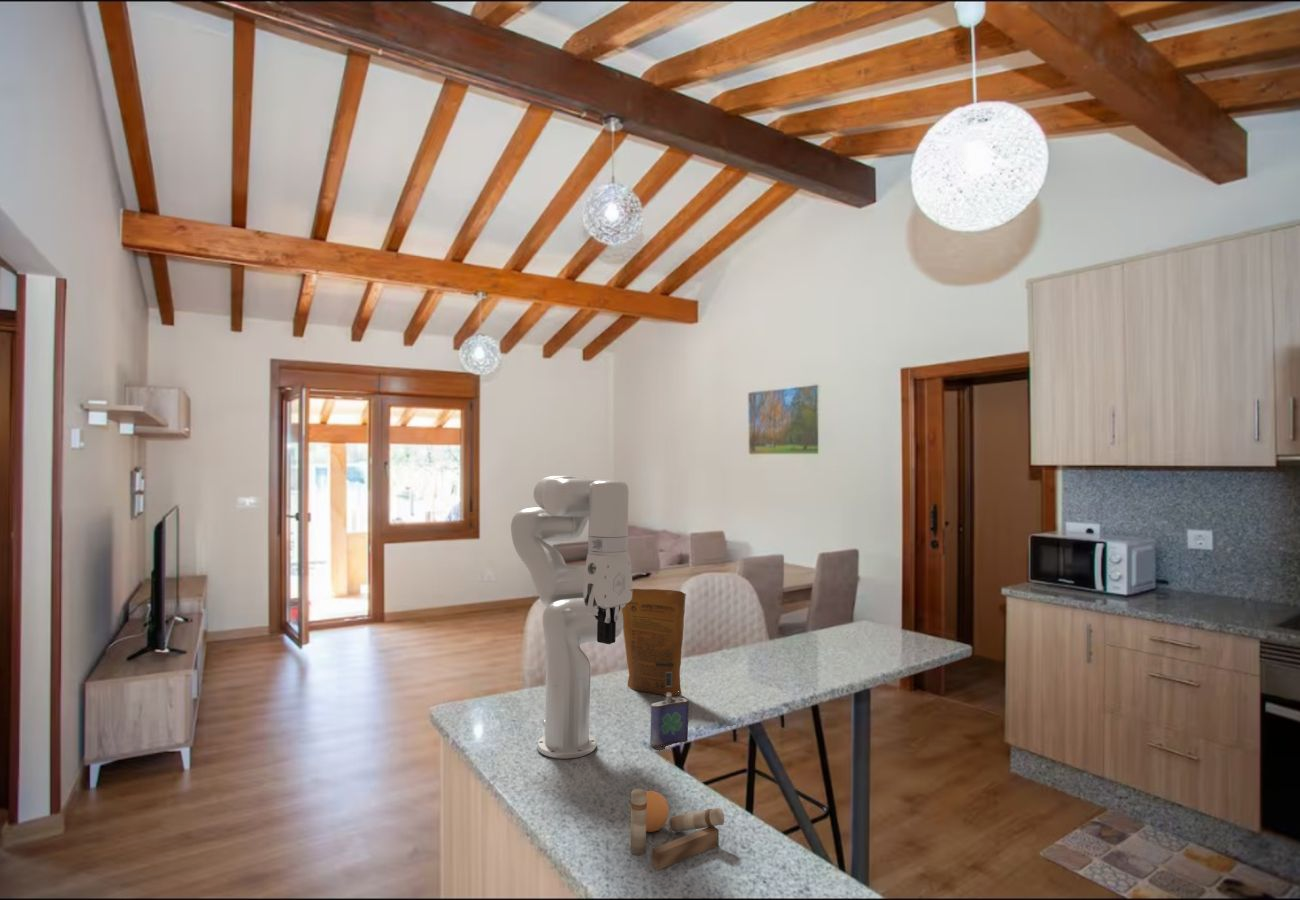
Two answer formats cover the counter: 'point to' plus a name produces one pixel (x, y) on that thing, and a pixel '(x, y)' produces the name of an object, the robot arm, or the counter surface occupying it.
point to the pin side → (638, 821)
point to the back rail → (684, 847)
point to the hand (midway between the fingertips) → (606, 642)
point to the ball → (656, 811)
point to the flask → (669, 721)
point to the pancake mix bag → (654, 640)
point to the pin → (697, 820)
